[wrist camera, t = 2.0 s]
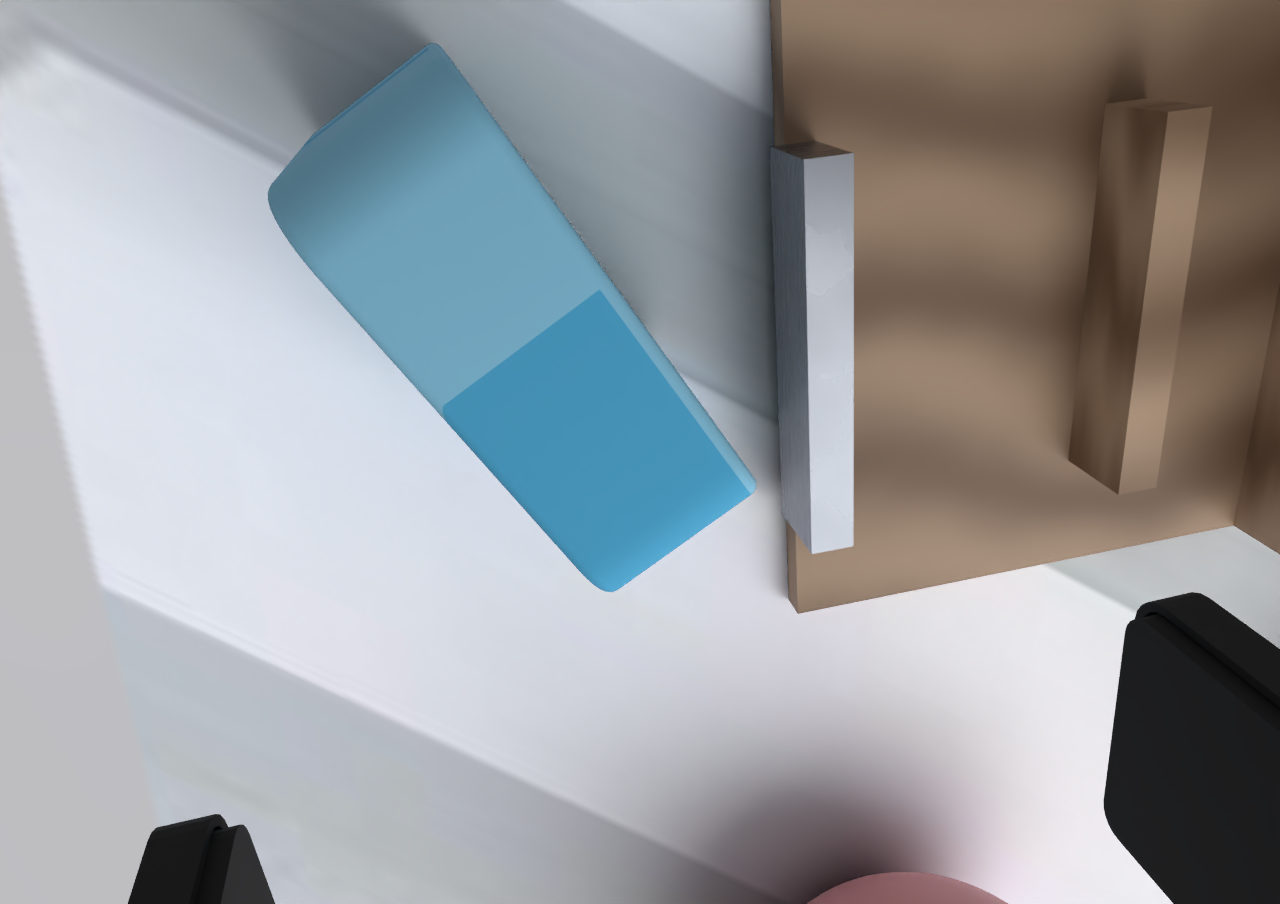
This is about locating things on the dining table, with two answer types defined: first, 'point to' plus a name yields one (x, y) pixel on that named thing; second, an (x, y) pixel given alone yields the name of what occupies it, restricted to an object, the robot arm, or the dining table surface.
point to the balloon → (905, 891)
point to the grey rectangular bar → (815, 338)
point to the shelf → (1046, 276)
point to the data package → (506, 321)
